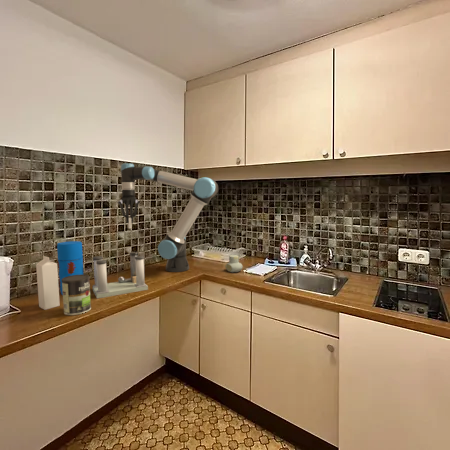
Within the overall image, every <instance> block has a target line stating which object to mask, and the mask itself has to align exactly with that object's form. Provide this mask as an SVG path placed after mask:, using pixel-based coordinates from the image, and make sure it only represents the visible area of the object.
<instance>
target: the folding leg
mask: <svg viewBox="0 0 450 450" xmlns="http://www.w3.org/2000/svg"><path fill="white" fill-rule="evenodd" d="M136 256H139V251H131V252H129V257H130V261H129V262H130V277H129V278H125V277H124V276H119V277H118V278H117V282H119V283H122V282H128V281H132V277H133V276H136V260H135V257H136Z"/></svg>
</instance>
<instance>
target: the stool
mask: <svg viewBox="0 0 450 450" xmlns="http://www.w3.org/2000/svg"><path fill="white" fill-rule="evenodd" d="M92 260H93V273H94V284H93V285H92V289H91V290H92V291H93V294H94V295H95V298H96V299H102V298H108V297H113V296H115V297H116V296H120V295H125V294H129V293H135V292H136V293H137V292H141V291H148V290H149V286H148V285H147V284H146V281H145V256H144V255H138V256H136V257H135V260H136V276H133V277H132V281H128V282H122V283H119V282H118V281H114V282H108V279H107V277H108V276H107V275H108V274H107V260H106V259H103V256H102V255H101V256H99V255H97V256H93V257H92Z"/></svg>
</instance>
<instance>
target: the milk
mask: <svg viewBox="0 0 450 450" xmlns="http://www.w3.org/2000/svg"><path fill="white" fill-rule="evenodd" d="M35 265H36V266H35V268H36V281H37V295H38V307H39V308H40V309H42V310H45V311H47V310H49V309H53V308H56V307H60V304H61V303H60V285H59V270H58V262H54V261H52V260H50V257H49V256H45V255H43V256H42V259H41V260H40V261H39V262H37V263H36V264H35Z"/></svg>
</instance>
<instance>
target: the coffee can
mask: <svg viewBox="0 0 450 450" xmlns="http://www.w3.org/2000/svg"><path fill="white" fill-rule="evenodd" d="M90 277H91V276H90V275H89V274H84V275H72V276H68V277H64V278H63V279H62V288H63V295H62V301H63V302H62V304H63V314H64V315H65V316H77V315H78V316H79V315H82V313H83V314H85V312H86V313H88V312H90V311H91V310H92V303H91V284H90V283H91V282H90Z"/></svg>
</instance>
